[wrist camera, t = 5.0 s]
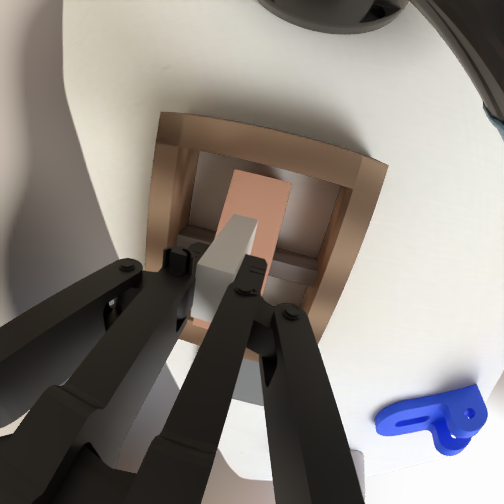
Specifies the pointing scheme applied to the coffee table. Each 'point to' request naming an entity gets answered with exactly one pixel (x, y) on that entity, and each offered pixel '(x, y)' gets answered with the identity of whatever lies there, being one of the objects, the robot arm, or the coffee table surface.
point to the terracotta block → (256, 213)
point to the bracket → (437, 418)
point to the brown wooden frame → (277, 155)
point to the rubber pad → (249, 383)
